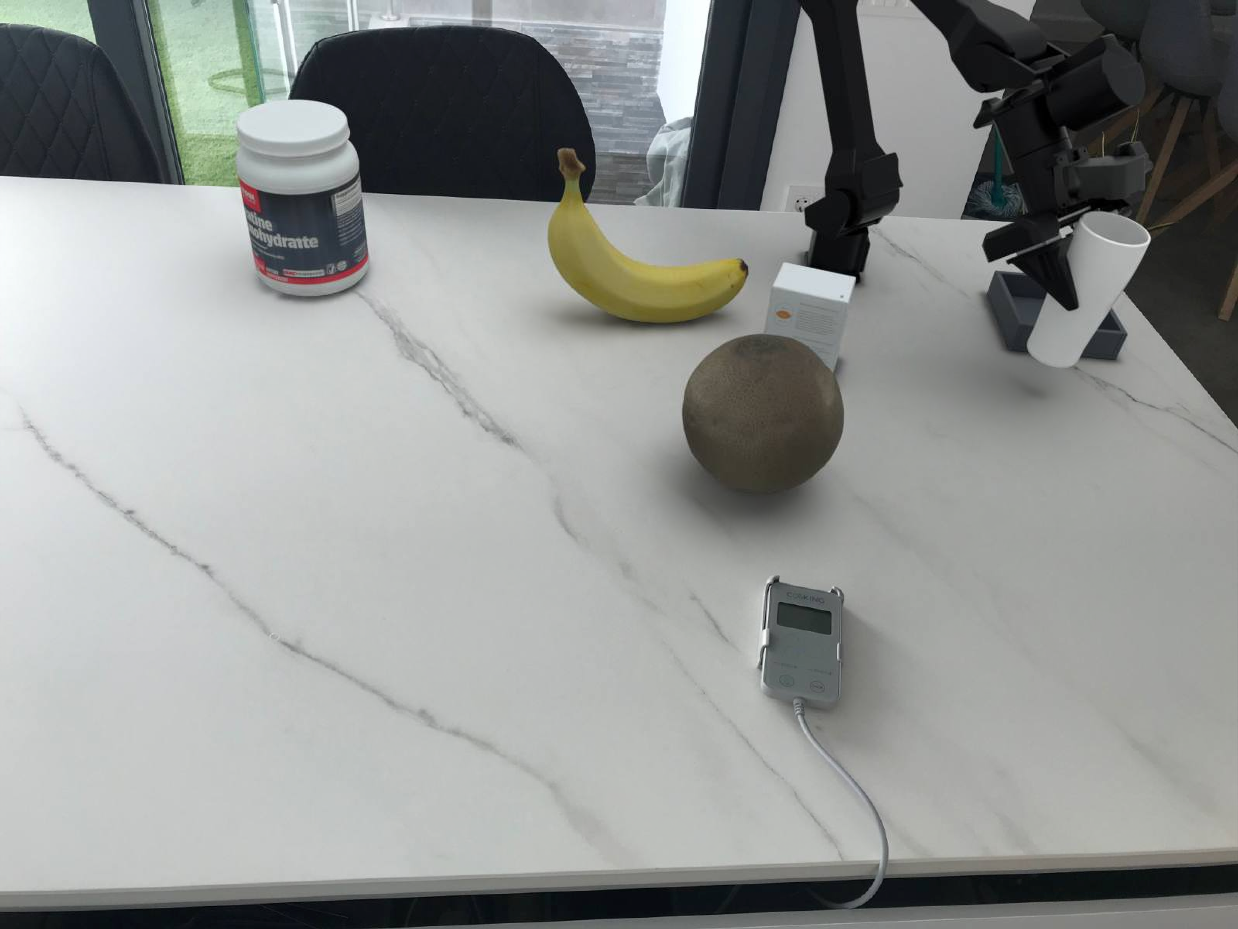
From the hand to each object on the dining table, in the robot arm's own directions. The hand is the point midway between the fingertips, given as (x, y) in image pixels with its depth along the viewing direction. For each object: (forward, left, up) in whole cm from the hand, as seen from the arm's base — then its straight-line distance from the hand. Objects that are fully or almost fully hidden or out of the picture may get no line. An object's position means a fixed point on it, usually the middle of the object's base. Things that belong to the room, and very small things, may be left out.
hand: (1092, 300), depth 97 cm
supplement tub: (-83, +12, -12) cm, 85 cm away
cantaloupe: (-33, -18, -12) cm, 40 cm away
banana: (-44, +9, -12) cm, 47 cm away
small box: (-27, +2, -12) cm, 30 cm away
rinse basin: (+4, +15, -12) cm, 20 cm away
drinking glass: (-1, +1, -8) cm, 8 cm away
